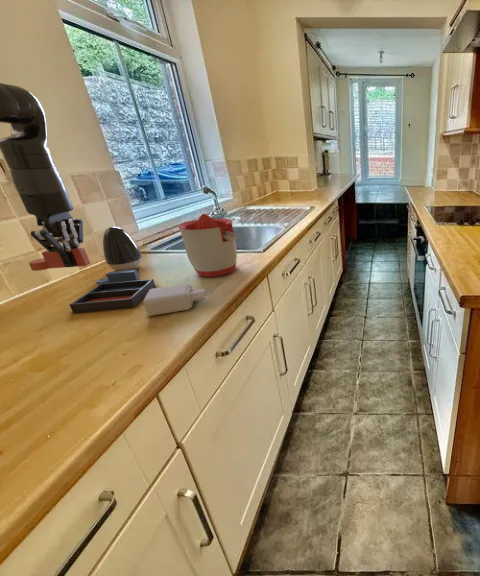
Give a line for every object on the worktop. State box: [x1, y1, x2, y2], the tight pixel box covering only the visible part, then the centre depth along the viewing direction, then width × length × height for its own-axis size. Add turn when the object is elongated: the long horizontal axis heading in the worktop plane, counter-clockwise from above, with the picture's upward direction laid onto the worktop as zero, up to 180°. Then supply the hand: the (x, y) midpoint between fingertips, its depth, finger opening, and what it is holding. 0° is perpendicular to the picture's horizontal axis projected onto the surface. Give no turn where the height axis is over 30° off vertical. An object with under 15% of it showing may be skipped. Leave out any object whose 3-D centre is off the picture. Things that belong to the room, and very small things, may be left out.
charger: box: [143, 283, 214, 317], centre depth 86 cm, size 5×9×15 cm
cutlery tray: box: [69, 278, 156, 314], centre depth 90 cm, size 14×14×2 cm
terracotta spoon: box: [28, 247, 91, 272], centre depth 75 cm, size 4×11×4 cm, turn 103°
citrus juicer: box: [177, 213, 239, 278], centre depth 106 cm, size 16×17×20 cm
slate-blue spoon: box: [95, 269, 141, 286], centre depth 100 cm, size 4×11×4 cm, turn 103°
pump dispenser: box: [102, 226, 143, 272], centre depth 110 cm, size 10×10×15 cm
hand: (74, 264), depth 76 cm, fingers closed on terracotta spoon, 2 cm apart
